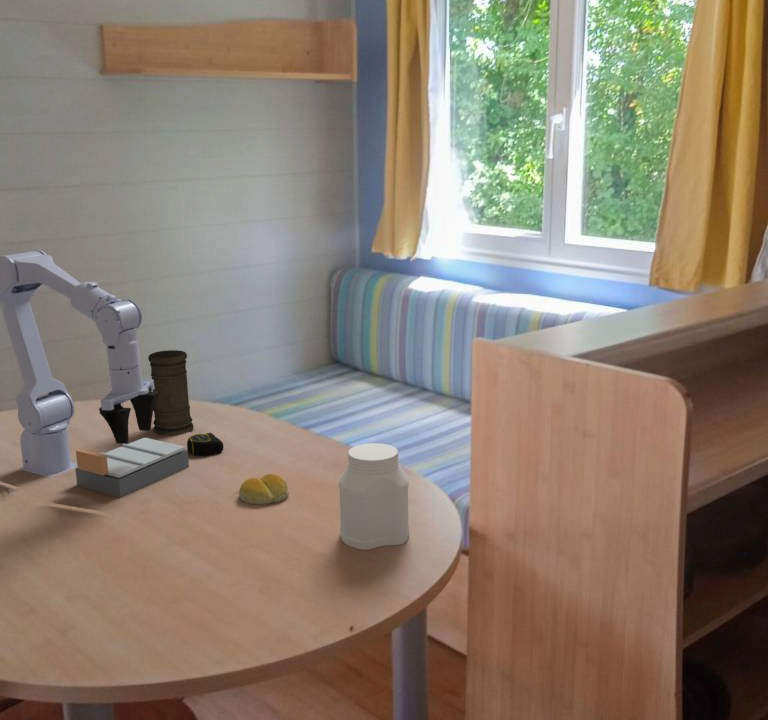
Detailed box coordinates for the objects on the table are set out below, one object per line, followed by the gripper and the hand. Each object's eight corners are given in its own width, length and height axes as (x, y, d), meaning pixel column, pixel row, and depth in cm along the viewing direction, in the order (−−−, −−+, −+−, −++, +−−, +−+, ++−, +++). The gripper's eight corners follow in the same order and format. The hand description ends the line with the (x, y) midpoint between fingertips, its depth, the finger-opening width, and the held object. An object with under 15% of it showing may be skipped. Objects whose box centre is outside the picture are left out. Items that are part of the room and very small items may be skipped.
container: (184, 438, 207) (178, 359, 202) (146, 436, 208) (139, 358, 204) (200, 425, 215) (194, 349, 211) (163, 423, 217) (157, 348, 212)
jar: (349, 553, 151) (346, 465, 147) (334, 529, 160) (331, 446, 156) (416, 542, 154) (415, 457, 151) (398, 519, 163) (397, 438, 159)
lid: (70, 469, 178) (67, 448, 176) (144, 440, 193) (143, 420, 192) (111, 480, 172) (109, 459, 171) (185, 449, 187) (184, 429, 186)
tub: (77, 487, 180) (75, 468, 179) (146, 459, 195) (145, 440, 194) (121, 500, 174) (119, 480, 173) (189, 469, 188) (187, 450, 187)
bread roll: (234, 494, 176) (233, 474, 175) (280, 486, 180) (279, 466, 179) (247, 510, 169) (245, 489, 168) (294, 501, 172) (293, 480, 171)
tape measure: (225, 456, 196) (224, 439, 195) (193, 462, 193) (192, 444, 192) (214, 446, 202) (213, 430, 201) (183, 452, 199) (182, 435, 198)
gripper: (120, 376, 165) (130, 449, 168) (164, 357, 178) (172, 425, 181) (87, 375, 167) (97, 448, 170) (132, 357, 181) (141, 424, 184)
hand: (134, 436), depth 176 cm, fingers open, 7 cm apart
